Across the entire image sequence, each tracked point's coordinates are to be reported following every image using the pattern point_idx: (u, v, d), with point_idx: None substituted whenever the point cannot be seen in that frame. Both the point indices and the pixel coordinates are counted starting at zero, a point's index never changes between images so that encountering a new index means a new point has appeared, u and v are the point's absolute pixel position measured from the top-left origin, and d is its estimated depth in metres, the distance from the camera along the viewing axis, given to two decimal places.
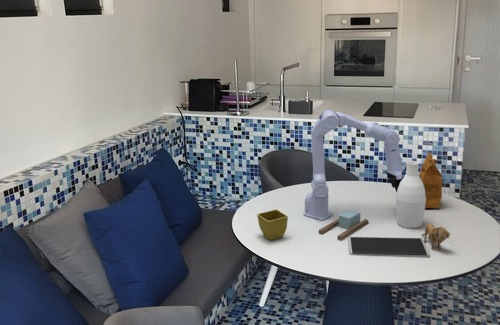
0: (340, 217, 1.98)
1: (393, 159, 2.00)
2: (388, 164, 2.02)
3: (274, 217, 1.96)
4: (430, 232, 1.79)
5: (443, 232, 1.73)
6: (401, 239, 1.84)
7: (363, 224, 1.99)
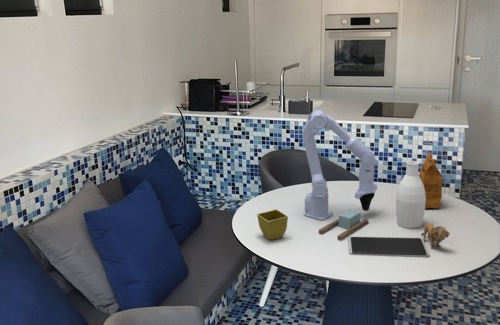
0: (340, 217, 1.98)
1: (366, 179, 2.02)
2: (359, 182, 2.06)
3: (274, 217, 1.96)
4: (429, 231, 1.80)
5: (443, 231, 1.74)
6: (401, 239, 1.84)
7: (363, 224, 1.99)
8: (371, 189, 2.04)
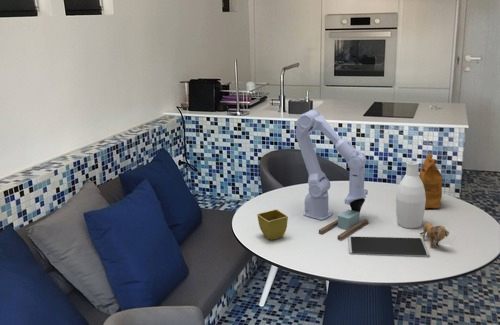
0: (339, 217, 1.97)
1: (353, 184, 1.97)
2: (349, 187, 2.01)
3: (274, 217, 1.96)
4: (429, 231, 1.80)
5: (442, 231, 1.74)
6: (401, 239, 1.84)
7: (363, 224, 1.99)
8: (361, 194, 1.98)
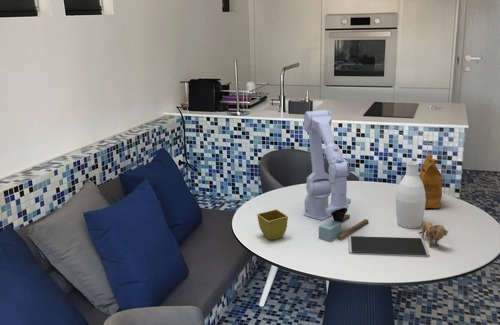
0: (320, 228, 1.88)
1: (331, 191, 1.90)
2: (331, 196, 1.91)
3: (274, 217, 1.96)
4: (428, 230, 1.81)
5: (441, 230, 1.75)
6: (401, 239, 1.84)
7: (363, 224, 1.99)
8: (343, 204, 1.89)
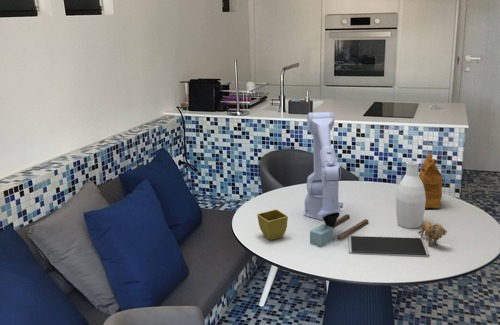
0: (311, 233, 1.84)
1: (322, 195, 1.87)
2: None
3: (274, 217, 1.96)
4: (427, 229, 1.81)
5: (440, 229, 1.75)
6: (401, 239, 1.84)
7: (363, 224, 1.99)
8: (335, 208, 1.85)
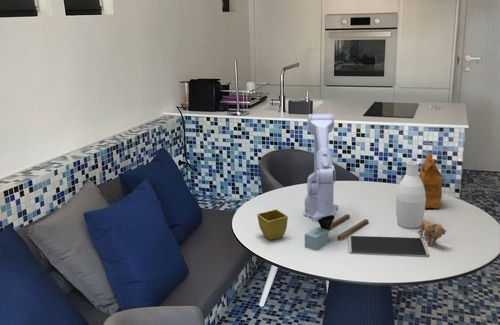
0: (306, 236, 1.82)
1: None
2: None
3: (274, 217, 1.96)
4: (426, 229, 1.82)
5: (439, 229, 1.76)
6: (401, 238, 1.84)
7: (363, 224, 1.99)
8: (330, 211, 1.83)
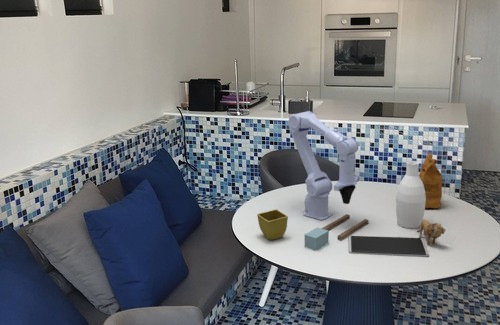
0: (306, 236, 1.82)
1: (341, 169, 1.93)
2: None
3: (274, 217, 1.96)
4: (425, 228, 1.82)
5: (439, 228, 1.76)
6: (401, 238, 1.85)
7: (363, 224, 1.99)
8: (351, 181, 1.93)
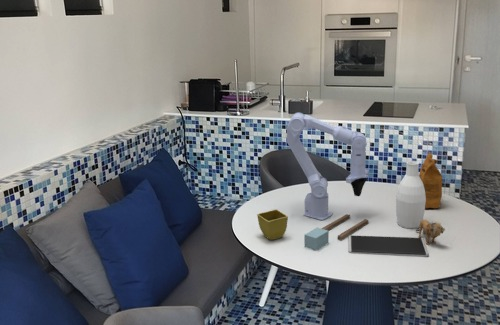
0: (306, 236, 1.82)
1: (357, 163, 1.99)
2: (351, 166, 2.03)
3: (274, 217, 1.96)
4: (425, 228, 1.83)
5: (438, 227, 1.77)
6: (401, 238, 1.85)
7: (363, 224, 1.99)
8: (363, 174, 2.01)
